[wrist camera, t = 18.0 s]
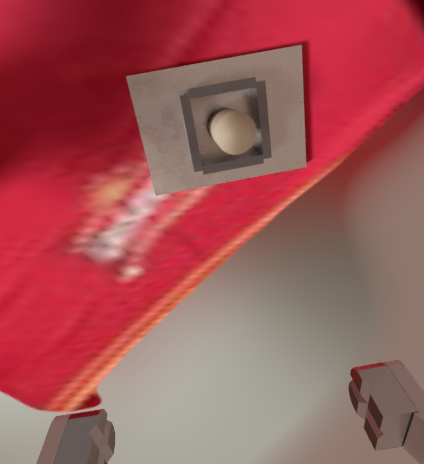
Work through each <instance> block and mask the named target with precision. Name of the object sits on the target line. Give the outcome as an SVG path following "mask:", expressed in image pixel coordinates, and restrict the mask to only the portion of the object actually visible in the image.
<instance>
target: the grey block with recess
mask: <svg viewBox="0 0 424 464" xmlns="http://www.w3.org/2000/svg"><path fill="white" fill-rule="evenodd" d="M126 79H127V83H128V87H129V91H130V95H131V99H132V103H133V107H134V111H135V115H136V119H137V123H138V127H139V131H140V135H141V139H142V143H143V147H144V151H145V155H146V159H147V162H148V166H149V170H150V174H151V178H152V182H153V186H154V190H155V194H156V196H157V195H162V194H167V193H173V192H178V191H183V190H188V189H193V188H199V187H204V186H209V185H214V184H220V183H225V182H230V181H235V180H241V179H246V178H251V177H256V176H262V175H267V174H272V173H277V172H282V171H288V170H293V169H298V168H303V167H306V144H305V117H304V91H303V64H302V45H297V46H292V47H286V48H281V49H275V50H269V51H264V52H258V53H253V54H247V55H242V56H236V57H230V58H225V59H219V60H214V61H208V62H202V63H197V64H191V65H186V66H180V67H175V68H169V69H163V70H158V71H152V72H147V73H141V74H136V75H130V76H126ZM219 108H229V109H233V110H236V111H240V112H243V113H246V114H247V115H249V116H250V117H251V118H252V119H253V121H254V123H255V125H256V130H257V134H256V139H255V142H254V144H253V145H252V147H251V148H250V149H249V150H248V151H246V152H244V153H242V154H239V155H232V154H228V153H226V152H224V151H223V150H222V149H221V148H220V147H219V146H218V144H217V143H216V142H215V141H214V139H213V138H212V137H211V136H210V134H209V132H208V128H207V123H208V119H209V117H210V115H211V114H212V113H213V112H214V111H215V110H217V109H219Z"/></svg>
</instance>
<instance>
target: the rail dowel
mask: <svg viewBox="0 0 424 464" xmlns="http://www.w3.org/2000/svg"><path fill="white" fill-rule="evenodd" d="M207 128H208V132H209V134H210V136H211V137H212V138H213V139H214V141H215V142H216V143H217V144H218V146H219V147H220V148H221V149H222V150H223V151H224V152H226V153H228V154H232V155H239V154H242V153H244V152H246V151H248V150H249V149H250V148H251V147H252V145H253V144H254V142H255V139H256V134H257V130H256V125H255V123H254V121H253V119H252V118H251V117H250V116H249V115H247V114H246V113H243V112H240V111H236V110H233V109H229V108H219V109H217V110H215V111H214V112H213V113H212V114H211V115H210V117H209V119H208V123H207Z"/></svg>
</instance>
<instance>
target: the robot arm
mask: <svg viewBox="0 0 424 464" xmlns="http://www.w3.org/2000/svg"><path fill="white" fill-rule="evenodd" d="M350 375H351V377H352V379H353V380H352V381H351V382H350V383H349V395H350V399H351V402H352V404H353V407H354V409H355V411H356V413H357V414H358V415H359V416H361V417H362V418H363V419H364V420H365V424H364V429H365V431H366V433H367V435H368V437H369V439H370V441H371V443H372V445H373V447H374V449H375V450H383V449H390V448H397V447H403V449H404V450H405V451H406V452H407V453H408V454H409V455H411V456H412V457H413V458H414V459H415V460H416V461H417V462H419V463H420V464H424V391H423V390H422V388H421V387H420V386H419V384H418V383H417V382H416V380H415V379H414V378H413V376H412V375H411V373H410V372H409V371H408V370H407V368H406V367H405V365H404V364H403V363H402V362H401V361H399V360H395V361H390V362H384V363H382V362H381V363H376V364H370V365H365V366H360V367H354V368H352V369H351V373H350ZM106 419H107V413H106V411H105V410H104V409H100V410H94V411H88V412H81V413H75V414H68V415H62V416H56V417H55V418H54V420H53V421H52V423H51V425H50V428H49V431H48V433H47V436H46V439H45V442H44V445H43V447H42V450H41V453H40V456H39V458H38V461H37V464H108V463H107V462H108V461H109V459H110V458H111V457H112V455H113V454H114V447H115V431H114V427H113V424H112V423H111V422H110V421H108V420H106Z"/></svg>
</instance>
